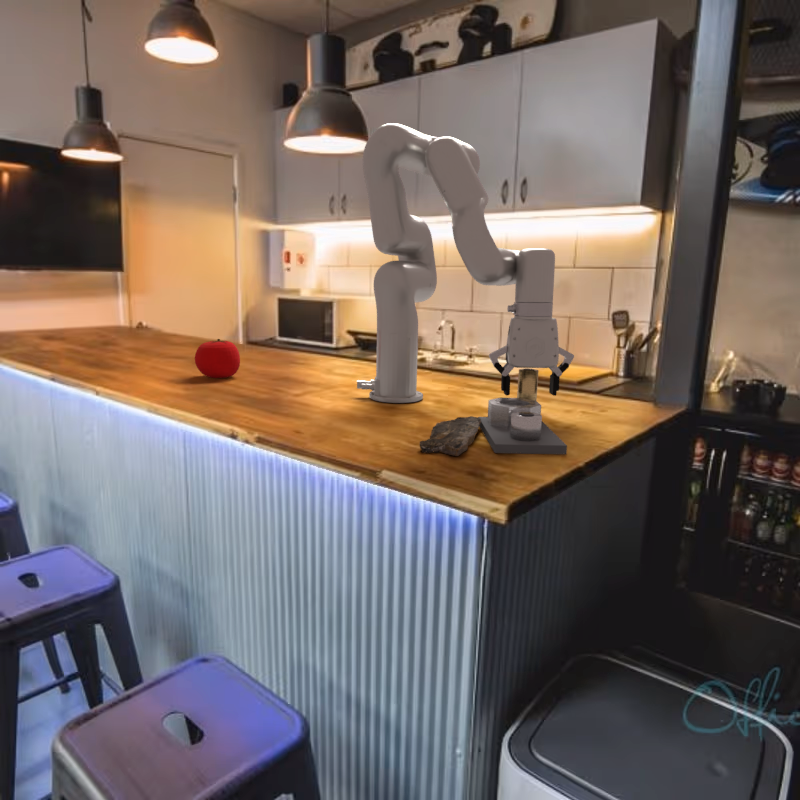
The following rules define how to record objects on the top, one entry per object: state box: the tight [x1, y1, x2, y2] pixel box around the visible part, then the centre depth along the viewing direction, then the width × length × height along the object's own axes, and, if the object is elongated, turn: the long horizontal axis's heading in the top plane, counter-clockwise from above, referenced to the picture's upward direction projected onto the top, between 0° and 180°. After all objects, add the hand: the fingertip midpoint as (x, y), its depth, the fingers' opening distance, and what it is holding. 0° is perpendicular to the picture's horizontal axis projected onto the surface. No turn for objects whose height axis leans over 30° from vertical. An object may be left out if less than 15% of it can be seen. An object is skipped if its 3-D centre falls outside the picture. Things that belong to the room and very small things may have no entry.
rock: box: [418, 415, 481, 457], centre depth 110 cm, size 21×8×3 cm, turn 165°
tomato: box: [194, 338, 241, 379], centre depth 167 cm, size 12×12×10 cm
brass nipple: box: [516, 368, 540, 401], centre depth 128 cm, size 4×4×10 cm
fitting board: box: [478, 416, 568, 455], centre depth 113 cm, size 12×20×2 cm, turn 1°
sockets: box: [487, 397, 543, 441], centre depth 113 cm, size 9×18×4 cm, turn 1°
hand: (529, 394), depth 128 cm, fingers open, 9 cm apart
